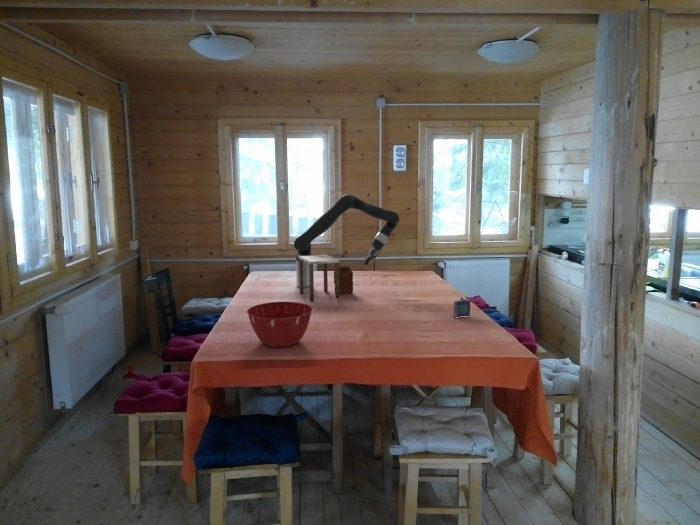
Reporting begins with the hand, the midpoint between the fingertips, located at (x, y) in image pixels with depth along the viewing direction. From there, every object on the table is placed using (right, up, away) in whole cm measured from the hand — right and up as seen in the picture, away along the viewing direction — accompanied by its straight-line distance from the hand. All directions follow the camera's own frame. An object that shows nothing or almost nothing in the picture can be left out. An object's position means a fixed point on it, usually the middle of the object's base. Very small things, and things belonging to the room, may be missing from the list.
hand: (365, 264), depth 343 cm
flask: (+48, -27, -60) cm, 82 cm away
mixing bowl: (-40, -35, -101) cm, 114 cm away
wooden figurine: (-13, -19, -1) cm, 23 cm away
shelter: (-28, -19, -7) cm, 35 cm away
